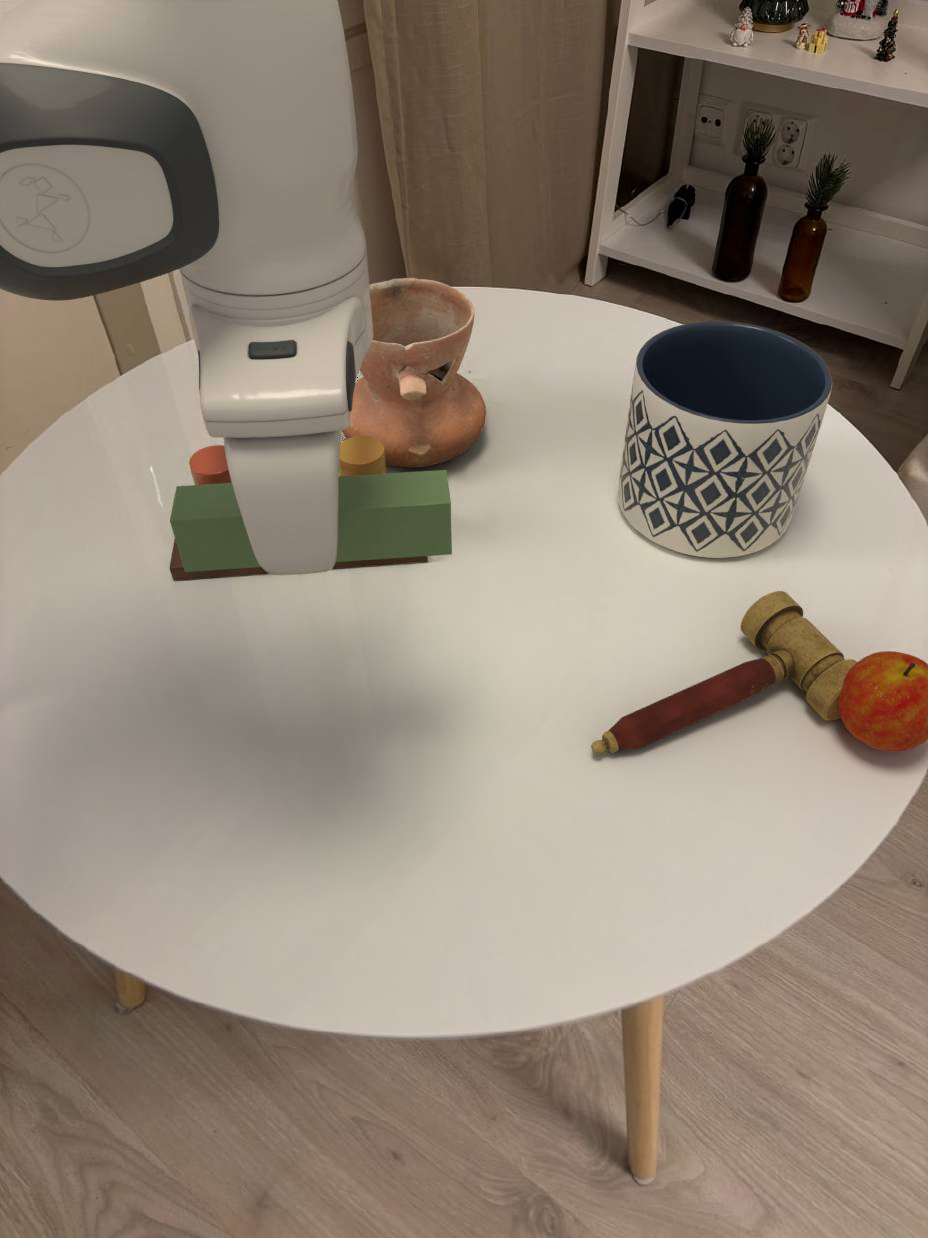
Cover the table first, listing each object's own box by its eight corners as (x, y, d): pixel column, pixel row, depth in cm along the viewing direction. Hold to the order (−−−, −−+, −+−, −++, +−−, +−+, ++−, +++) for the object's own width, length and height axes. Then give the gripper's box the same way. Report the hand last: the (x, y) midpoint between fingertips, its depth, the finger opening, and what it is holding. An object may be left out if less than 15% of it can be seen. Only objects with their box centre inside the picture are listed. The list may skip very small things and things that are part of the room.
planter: (805, 478, 90) (848, 342, 79) (769, 583, 80) (813, 443, 69) (645, 439, 94) (666, 305, 84) (593, 533, 84) (609, 394, 74)
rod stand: (173, 581, 81) (145, 493, 74) (183, 521, 86) (158, 434, 79) (427, 562, 82) (423, 474, 75) (421, 504, 88) (417, 418, 81)
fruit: (826, 687, 72) (857, 614, 66) (922, 705, 70) (962, 633, 65) (825, 759, 67) (858, 687, 61) (928, 780, 66) (972, 709, 60)
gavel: (632, 786, 62) (557, 681, 68) (627, 821, 65) (557, 719, 72) (882, 668, 67) (792, 581, 73) (866, 707, 70) (781, 620, 77)
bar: (185, 572, 56) (169, 520, 53) (191, 537, 58) (176, 485, 55) (451, 554, 57) (450, 503, 54) (447, 520, 59) (446, 469, 56)
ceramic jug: (493, 487, 89) (496, 353, 79) (341, 495, 89) (324, 361, 78) (477, 384, 102) (477, 257, 92) (343, 391, 101) (329, 263, 91)
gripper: (234, 223, 53) (271, 428, 63) (195, 430, 39) (251, 652, 49) (345, 218, 54) (365, 422, 64) (346, 421, 39) (371, 643, 49)
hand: (315, 524), depth 56 cm, fingers closed on bar, 3 cm apart
